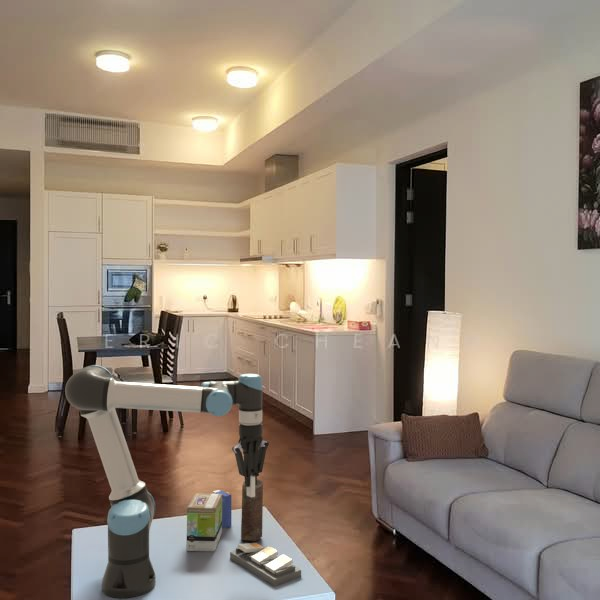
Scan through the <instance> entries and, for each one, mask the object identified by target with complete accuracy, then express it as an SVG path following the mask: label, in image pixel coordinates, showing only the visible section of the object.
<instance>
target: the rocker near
mask: <svg viewBox="0 0 600 600" xmlns="http://www.w3.org/2000/svg"><path fill="white" fill-rule="evenodd" d="M293 563H294V562H293V559H292V558H291V557H289V556H288V555H286V554H284V553H283V554H281V555H279V556H278V558H276V559H274V560H273V561H271V562H269V563H268V564H266V565H265V568H266V569H267V570H269V571H270V572H272V573H274V574H275V572H276V571H278V570H281V569H284V568H285V567H287V566H289V565H290V564H292V565H293Z"/></svg>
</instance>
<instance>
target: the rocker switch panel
mask: <svg viewBox="0 0 600 600" xmlns="http://www.w3.org/2000/svg"><path fill="white" fill-rule="evenodd" d="M262 550H263V549H262ZM260 551H261V550H259V551H256V552H248V553H246V552H244V551H242V550H240V549H239V548H238V547H235V550H233V551H230V553H229V557H230V558H229V559H231V560H232V561H234V562H236V563H237V564H238V563H239V564H238V565H241V566H242V567H243V568H245V569H246V570H248V571H249V572H251V573H253V574H254V575H256V576H258V577H259V578H260V579H262V580H264V581H265V582H267V583H269V584H270V585H272V586H274V587H276V586H279V585H283V584H284V583H287V582H290V581H292V580H295V579H298V578H301V577H302V569H300V568H299V567H297V566H296V565H294V564H293V563H292V564H290V565H289V566H287V567H285V568H284V569H281V570H278V571H276V572H275V574H274V573H272V572H270V571H269V570H267V569H266V568H265V565H266V564H268V563H269V562H271V561H273V560H274V559H276V558H278V557H279V556H278V555H276V556H275V557H273V558H271V559H270V560H267V561H264V562H262V563H260V565H259V564H257V563H256V562H254V561H252V559H251V556H253V555H255V554H256V553H258V552H260Z"/></svg>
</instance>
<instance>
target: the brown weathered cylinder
mask: <svg viewBox="0 0 600 600" xmlns="http://www.w3.org/2000/svg"><path fill="white" fill-rule="evenodd" d="M241 486H242V487H241V488H242V489H241V520H240V523H241V524H240V525H241V526H240V539H241V540H243V541H249V542H255V541H259V540H260V539H261V538H263V512H264V511H263V507H264V506H263V505H264V504H263V503H264V502H263V501H264V500H263V499H264V481H262V480H260V479H258V478H257V485H255V497H252V498H251V497H249V496H247V487H246V486H245V480H244V481H243V483H242V485H241Z"/></svg>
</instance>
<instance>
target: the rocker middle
mask: <svg viewBox="0 0 600 600" xmlns="http://www.w3.org/2000/svg"><path fill="white" fill-rule="evenodd" d="M278 555H279V552H278V550H277V549H276V548H274V547H271V546H267V547H264V549H263V550H261V551H260V552H258V553H256V554H255V555H253V556H251V559H252V561H254V562H256V563H257V564H259V565H260V563H262V562H264V561H267V560H270V559H271V558H273V557H275V556H278Z"/></svg>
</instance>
